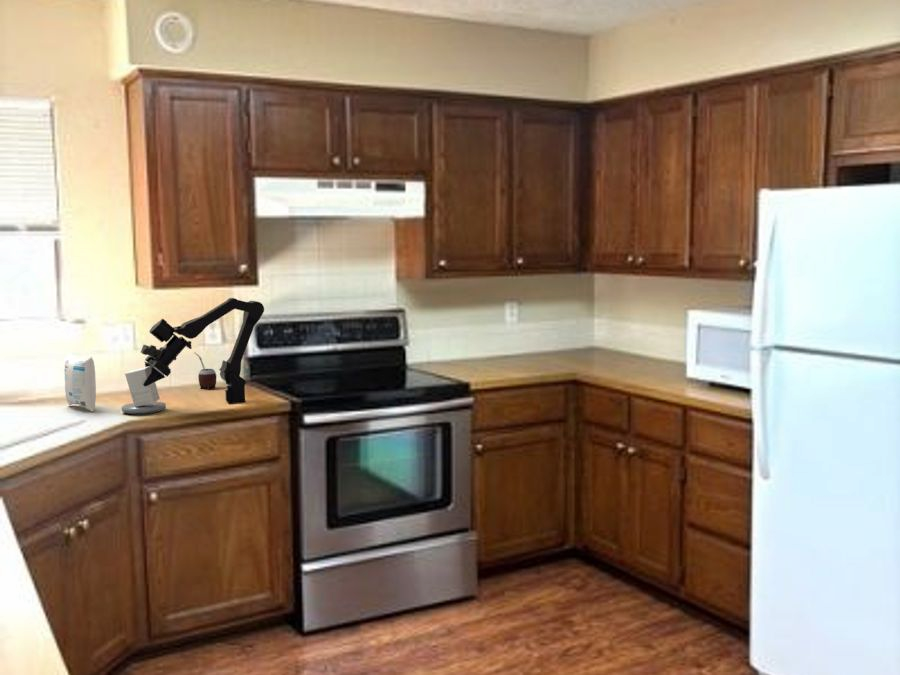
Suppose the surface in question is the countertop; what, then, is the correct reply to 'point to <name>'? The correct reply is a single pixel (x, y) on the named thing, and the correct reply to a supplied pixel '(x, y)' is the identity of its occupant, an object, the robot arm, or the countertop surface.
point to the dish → (144, 408)
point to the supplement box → (141, 387)
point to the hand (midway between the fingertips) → (141, 383)
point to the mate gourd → (206, 377)
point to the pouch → (80, 381)
